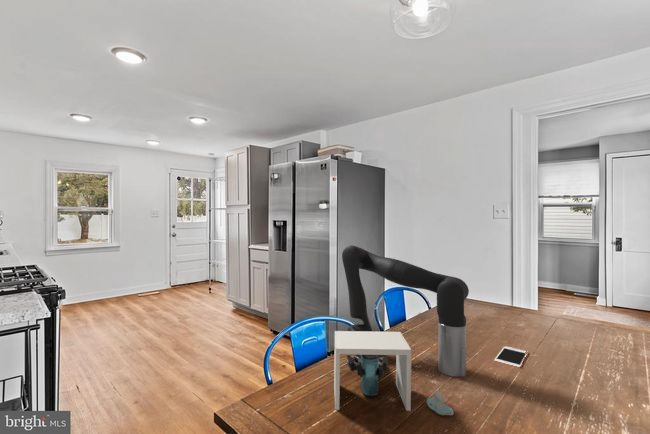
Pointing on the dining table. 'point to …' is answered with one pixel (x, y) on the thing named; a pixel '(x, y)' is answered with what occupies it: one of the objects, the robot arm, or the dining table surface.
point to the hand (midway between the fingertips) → (371, 374)
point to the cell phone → (511, 356)
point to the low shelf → (375, 346)
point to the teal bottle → (369, 374)
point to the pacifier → (439, 404)
